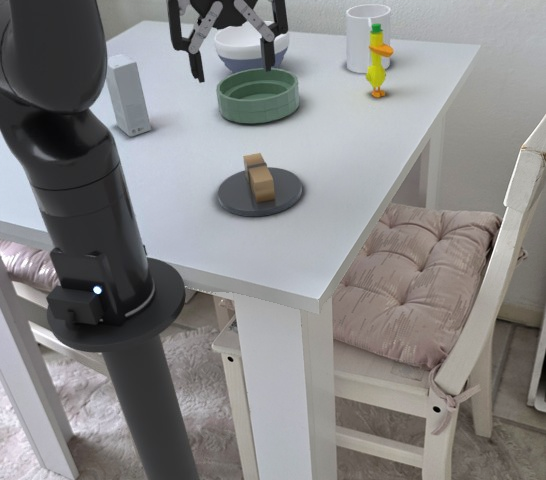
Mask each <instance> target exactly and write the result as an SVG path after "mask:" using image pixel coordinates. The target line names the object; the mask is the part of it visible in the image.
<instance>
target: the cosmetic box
mask: <svg viewBox="0 0 546 480" xmlns="http://www.w3.org/2000/svg"><path fill="white" fill-rule="evenodd" d="M141 81H142V80H141V77H140V72H139V67H138V63H137V61H136V60H134V59H132V58H131V57H129V56H127V55H126V54H124V53H119V54H116V55H113V56H108V65H107V75H106V79H105V84H106V86H107V90H108V94H109V98H110V102H111V105H112V109H113V113H114V117H115V121H116V125H117V127H118V128H119V129H120V130H121V131H123V133H125V134H126V135H128V137H130V138H132V137H135V136H138V135H141V134H143V133H146V132H149V131H152V126H151V122H150V116H149V112H148V108H147V104H146V99H145V94H144V90H143V85H142V82H141Z"/></svg>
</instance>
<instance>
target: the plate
mask: <svg viewBox="0 0 546 480" xmlns="http://www.w3.org/2000/svg"><path fill="white" fill-rule="evenodd" d="M267 168H268V170H269V172H270V174H271V176H272V178H273V183H274V193H275V199H274V200H269V201H264V202H259V203H257V201H256V199H255V197H254V194H253V192H252V189H250V186H249V182H248V180H247V177H246V174H245V169H244V170H241V171H238V172H236V173H234V174H232V175H230V176H228V177H227V178H226V179H224V181H222V182H221V184H220V185H219V187H218V189H217V197H218V202H219V204H220V206H221V207H222V208H223V209H224V210H226V211H227V212H228V213H231V214H234V215H237V216H242V217H252V218H253V217H266V216H271V215H275V214H279V213H281V212H283V211H286V210H287V209H289V208H291V207H292V206H293V205H295V204H296V203H297V202H298V201H299V199H300V198H301V196H302V193H303V192H302V191H303V190H302V189H303V188H302V182H301V179H300V178H299V177H298V176H297V175H296V174H295V173H293V172H292V171H290V170H287V169H285V168H279V167H273V166H271V167H270V166H267Z"/></svg>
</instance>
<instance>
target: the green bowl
mask: <svg viewBox="0 0 546 480" xmlns="http://www.w3.org/2000/svg"><path fill="white" fill-rule="evenodd" d="M299 91H300V90H299V79H298V76H297V75H296V74H295V73H294V72H291V71H289V70H286V69H282V68H278V69H277V68H271V71H270V72H265V71H264V69H263V68H257V69H249V70H245V71H240V72H237V73H235V74H233V73H232V74H229V75H227V76H226V77H224V78H222V79H221V80H220V81H219V82H218V83H217V84H216V89H215V92H216V99H217V105H218V111H219V113H220V115H221V116H222V117H223V118H224V119H227V120H228V121H230V122H235V123H239V124H263V123H269V122H273V121H276V120H280V119H282V118H284V117H287V116H290V115H291V114H292V113H294V112H295V111H296V110H297V109H298V108H299V106H300V104H301V103H300V92H299Z"/></svg>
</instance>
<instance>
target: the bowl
mask: <svg viewBox="0 0 546 480" xmlns="http://www.w3.org/2000/svg"><path fill="white" fill-rule="evenodd" d="M263 21H264V22H265V24H266V25H267V26H269V25H271V24H272V23H274V21H270V20H263ZM260 38H262V35H261V34H260V33H259V32H258V31H257V30H256V29H255V28H254V27H253V26H252V25H251V24H250V22H249V21H246V22H245V23H244V24H242V26H239V27H233V26H229V27H227V28H224V29H220V30H218V31H217V32H216V33H215V35H214V37H213V45H214V49H215V52H216V55H217V56H218V57H219V59H220V60H221V62H223V63H224V66H225V67H226V68H227V69H228V70H229V71H231V73H232V74H235V73H237V72H240V71H245V70H249V69H257V68H263V66H262V56H261V45H260ZM289 45H290V31H289V29H288V32H287V33H286V34H281V35H279V36H277V37H276V38H275V40H274V51H275V65H274V66H272V67H271V68H277V69H279V66H280V65H281V64H282V62H283V61H284V59H285V55H286V53H287V51H288V49H289Z"/></svg>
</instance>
